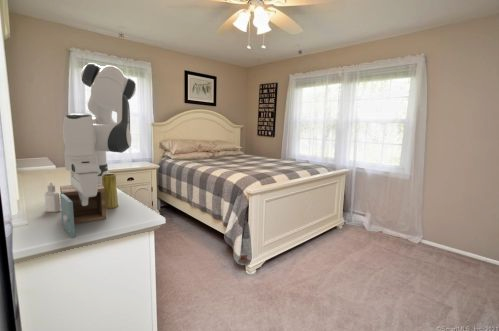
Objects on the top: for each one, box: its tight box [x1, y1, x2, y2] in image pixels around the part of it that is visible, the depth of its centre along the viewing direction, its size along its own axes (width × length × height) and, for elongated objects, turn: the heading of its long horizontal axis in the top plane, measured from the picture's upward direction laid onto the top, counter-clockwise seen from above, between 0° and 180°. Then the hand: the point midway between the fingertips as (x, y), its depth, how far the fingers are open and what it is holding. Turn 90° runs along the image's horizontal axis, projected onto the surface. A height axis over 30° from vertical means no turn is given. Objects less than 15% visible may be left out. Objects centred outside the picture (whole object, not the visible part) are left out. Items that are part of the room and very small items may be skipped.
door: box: [59, 193, 76, 238], centre depth 86 cm, size 2×13×11 cm, turn 45°
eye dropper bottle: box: [44, 181, 61, 213], centre depth 107 cm, size 4×6×12 cm
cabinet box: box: [59, 183, 107, 225], centre depth 100 cm, size 12×13×12 cm
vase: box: [102, 173, 119, 210], centre depth 114 cm, size 6×6×14 cm
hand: (84, 204), depth 88 cm, fingers closed
